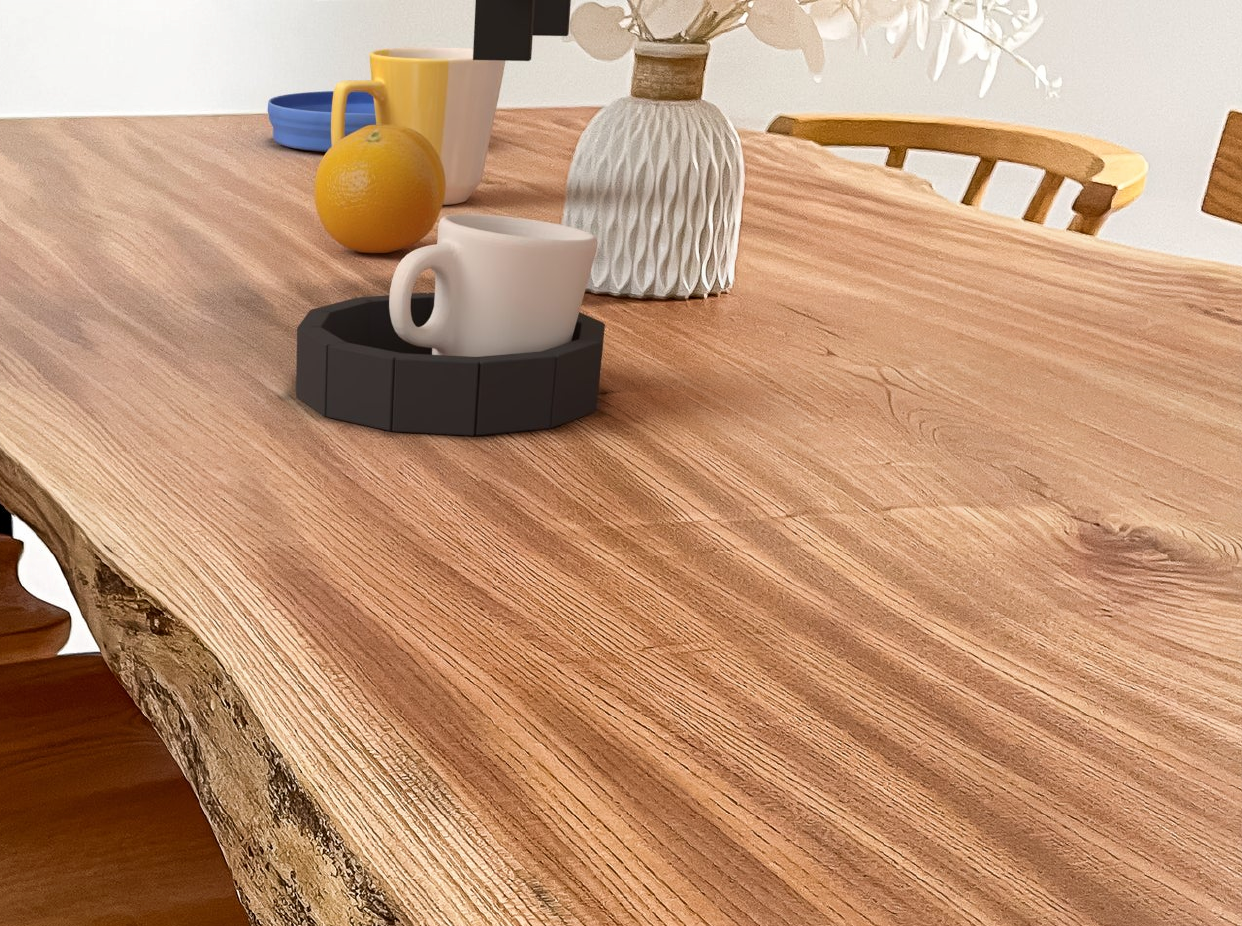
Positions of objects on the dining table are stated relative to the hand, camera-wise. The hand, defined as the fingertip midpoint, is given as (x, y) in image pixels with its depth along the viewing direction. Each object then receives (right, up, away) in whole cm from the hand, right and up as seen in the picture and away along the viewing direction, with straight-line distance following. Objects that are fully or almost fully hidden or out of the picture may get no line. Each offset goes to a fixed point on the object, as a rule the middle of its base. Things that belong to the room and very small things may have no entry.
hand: (523, 47), depth 99 cm
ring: (-4, -17, +2) cm, 17 cm away
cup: (-3, -17, +1) cm, 18 cm away
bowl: (-3, +30, +79) cm, 84 cm away
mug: (-1, +14, +53) cm, 55 cm away
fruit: (-5, +3, +35) cm, 36 cm away
